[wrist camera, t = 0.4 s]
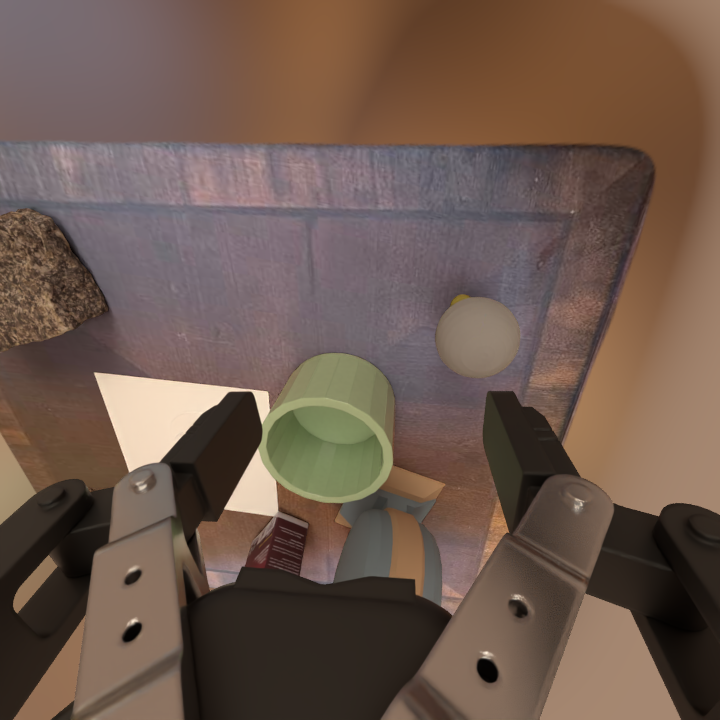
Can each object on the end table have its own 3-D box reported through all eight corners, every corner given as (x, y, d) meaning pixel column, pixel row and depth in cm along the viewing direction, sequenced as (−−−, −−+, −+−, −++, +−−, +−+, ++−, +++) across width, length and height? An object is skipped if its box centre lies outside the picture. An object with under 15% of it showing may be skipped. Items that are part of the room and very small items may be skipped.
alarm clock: (400, 548, 46) (398, 736, 30) (332, 524, 45) (293, 704, 30) (449, 477, 39) (477, 673, 24) (369, 449, 39) (344, 630, 23)
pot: (276, 354, 34) (243, 398, 27) (392, 350, 33) (388, 396, 26) (296, 444, 40) (273, 501, 32) (397, 445, 38) (396, 505, 31)
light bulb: (438, 340, 32) (451, 402, 23) (421, 285, 29) (428, 329, 21) (499, 323, 30) (538, 381, 21) (486, 263, 28) (523, 301, 19)
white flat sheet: (241, 470, 43) (226, 497, 39) (180, 462, 43) (160, 488, 40) (233, 413, 38) (215, 437, 35) (166, 405, 39) (141, 428, 36)
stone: (-39, 363, 32) (20, 336, 37) (75, 334, 30) (121, 309, 35) (-149, 245, 27) (-64, 232, 32) (-23, 199, 25) (48, 193, 30)
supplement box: (277, 509, 44) (238, 667, 31) (309, 522, 46) (286, 679, 32) (250, 541, 48) (204, 693, 35) (281, 552, 49) (248, 703, 36)
